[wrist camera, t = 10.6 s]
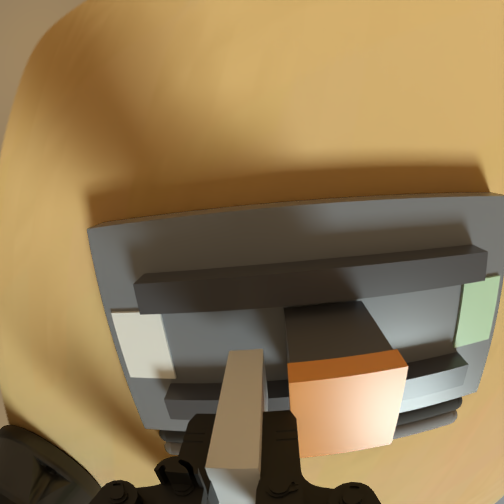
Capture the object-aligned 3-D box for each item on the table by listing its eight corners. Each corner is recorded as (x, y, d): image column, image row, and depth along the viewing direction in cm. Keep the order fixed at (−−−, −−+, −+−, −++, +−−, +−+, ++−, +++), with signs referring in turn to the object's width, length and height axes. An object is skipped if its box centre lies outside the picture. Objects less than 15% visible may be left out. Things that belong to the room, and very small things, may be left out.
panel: (152, 410, 21) (138, 443, 18) (103, 222, 18) (71, 235, 14) (465, 377, 20) (486, 403, 16) (490, 192, 16) (525, 199, 13)
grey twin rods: (169, 445, 22) (165, 457, 21) (159, 420, 21) (154, 432, 20) (450, 414, 21) (457, 424, 19) (459, 387, 20) (466, 397, 19)
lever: (286, 374, 17) (292, 458, 11) (281, 306, 16) (289, 383, 10) (359, 366, 17) (391, 443, 11) (363, 298, 16) (408, 366, 10)
